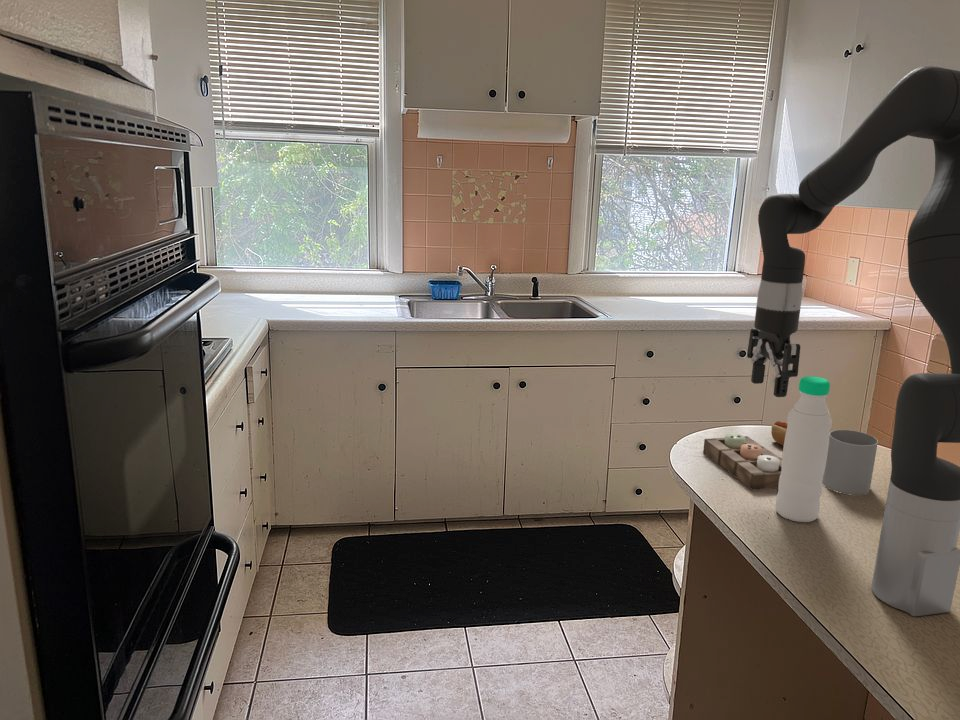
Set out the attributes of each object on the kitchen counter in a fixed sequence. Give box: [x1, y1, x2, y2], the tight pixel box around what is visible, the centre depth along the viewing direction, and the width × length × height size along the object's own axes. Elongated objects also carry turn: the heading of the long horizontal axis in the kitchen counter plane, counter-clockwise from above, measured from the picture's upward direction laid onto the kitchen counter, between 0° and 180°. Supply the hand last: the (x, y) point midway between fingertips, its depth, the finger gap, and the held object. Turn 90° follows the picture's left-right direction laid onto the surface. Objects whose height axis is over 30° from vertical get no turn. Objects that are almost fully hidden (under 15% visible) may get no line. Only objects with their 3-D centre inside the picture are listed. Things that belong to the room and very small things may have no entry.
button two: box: [724, 432, 746, 449], centre depth 156 cm, size 4×4×3 cm
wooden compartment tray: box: [703, 435, 782, 491], centre depth 151 cm, size 19×10×3 cm, turn 12°
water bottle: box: [774, 375, 833, 523], centre depth 128 cm, size 7×7×25 cm
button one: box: [757, 455, 780, 472], centre depth 145 cm, size 4×4×3 cm
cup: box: [822, 429, 879, 496], centre depth 142 cm, size 8×8×10 cm
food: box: [771, 420, 788, 447], centre depth 160 cm, size 14×6×5 cm, turn 23°
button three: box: [740, 444, 762, 460], centre depth 150 cm, size 4×4×3 cm
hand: (768, 389), depth 141 cm, fingers open, 8 cm apart
